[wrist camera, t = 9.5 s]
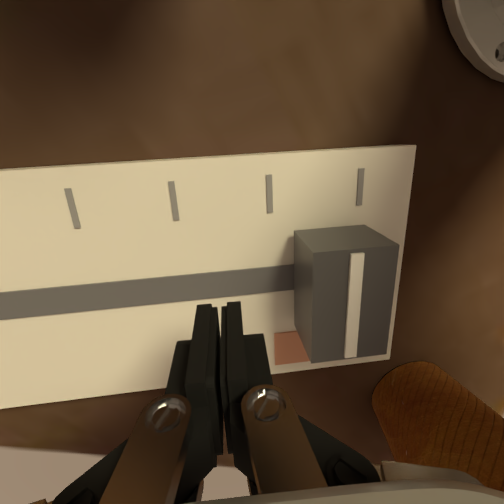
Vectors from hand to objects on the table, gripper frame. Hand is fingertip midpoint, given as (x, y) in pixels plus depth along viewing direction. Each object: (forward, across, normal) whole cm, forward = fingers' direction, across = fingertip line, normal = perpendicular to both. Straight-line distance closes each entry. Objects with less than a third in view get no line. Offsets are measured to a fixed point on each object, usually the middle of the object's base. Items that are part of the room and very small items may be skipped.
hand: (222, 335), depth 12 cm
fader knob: (+6, -6, +1) cm, 8 cm away
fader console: (+8, +2, +1) cm, 8 cm away
